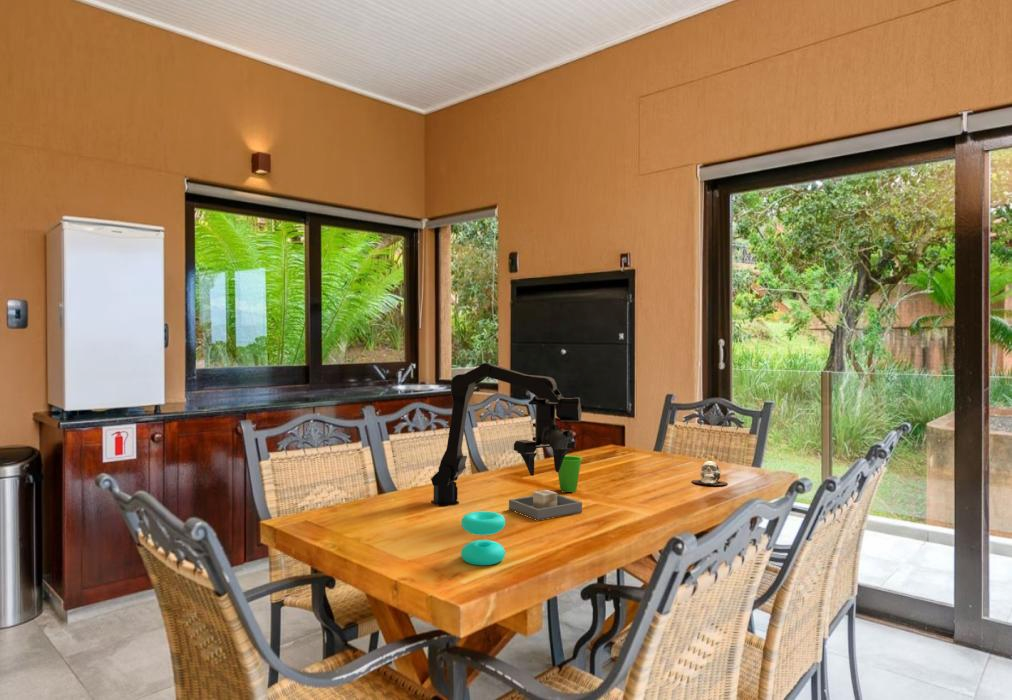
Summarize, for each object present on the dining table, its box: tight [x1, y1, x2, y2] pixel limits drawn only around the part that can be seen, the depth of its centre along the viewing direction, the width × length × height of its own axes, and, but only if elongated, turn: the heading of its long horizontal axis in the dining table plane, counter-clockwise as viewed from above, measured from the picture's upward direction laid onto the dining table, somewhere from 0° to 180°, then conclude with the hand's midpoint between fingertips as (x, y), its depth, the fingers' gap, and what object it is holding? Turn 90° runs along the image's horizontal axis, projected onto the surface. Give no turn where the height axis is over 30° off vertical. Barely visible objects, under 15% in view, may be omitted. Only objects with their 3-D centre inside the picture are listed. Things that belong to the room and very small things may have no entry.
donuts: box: [460, 510, 506, 566], centre depth 146 cm, size 10×10×10 cm
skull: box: [691, 460, 729, 486], centre depth 226 cm, size 12×10×10 cm
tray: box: [508, 494, 583, 521], centre depth 187 cm, size 16×14×3 cm
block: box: [532, 489, 558, 509], centre depth 187 cm, size 5×5×5 cm
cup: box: [557, 455, 583, 493], centre depth 213 cm, size 9×9×11 cm
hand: (544, 473), depth 187 cm, fingers open, 9 cm apart
